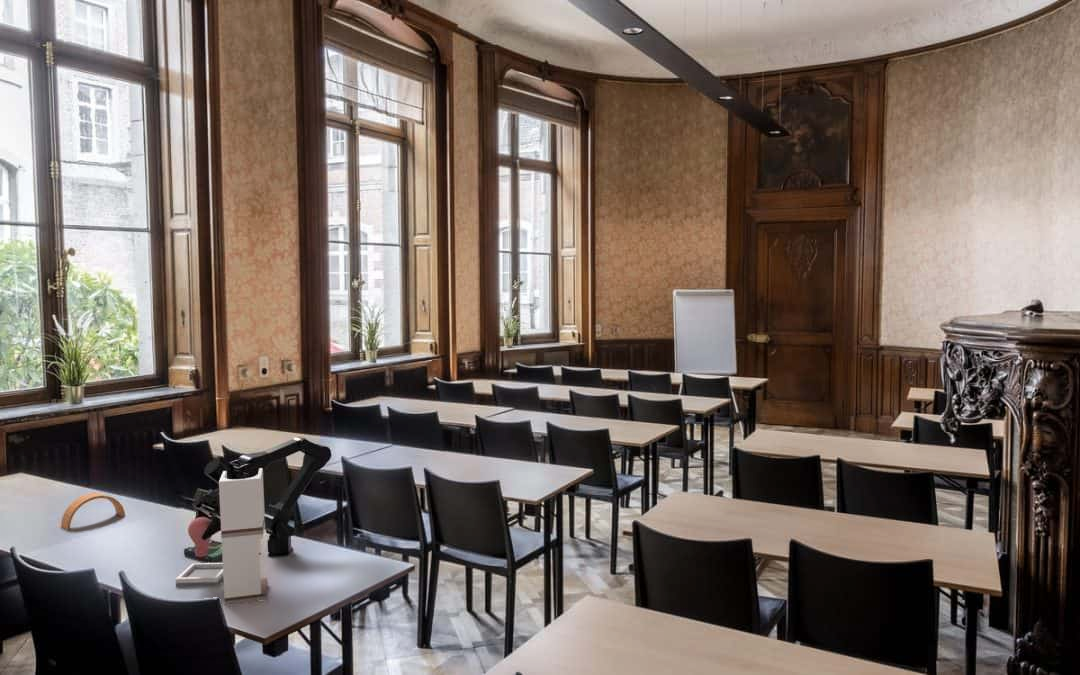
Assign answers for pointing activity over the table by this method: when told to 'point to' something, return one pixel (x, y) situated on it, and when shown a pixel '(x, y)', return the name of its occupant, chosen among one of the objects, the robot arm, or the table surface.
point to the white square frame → (201, 575)
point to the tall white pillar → (242, 537)
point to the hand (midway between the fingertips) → (197, 536)
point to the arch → (82, 500)
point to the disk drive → (213, 552)
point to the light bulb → (199, 535)
